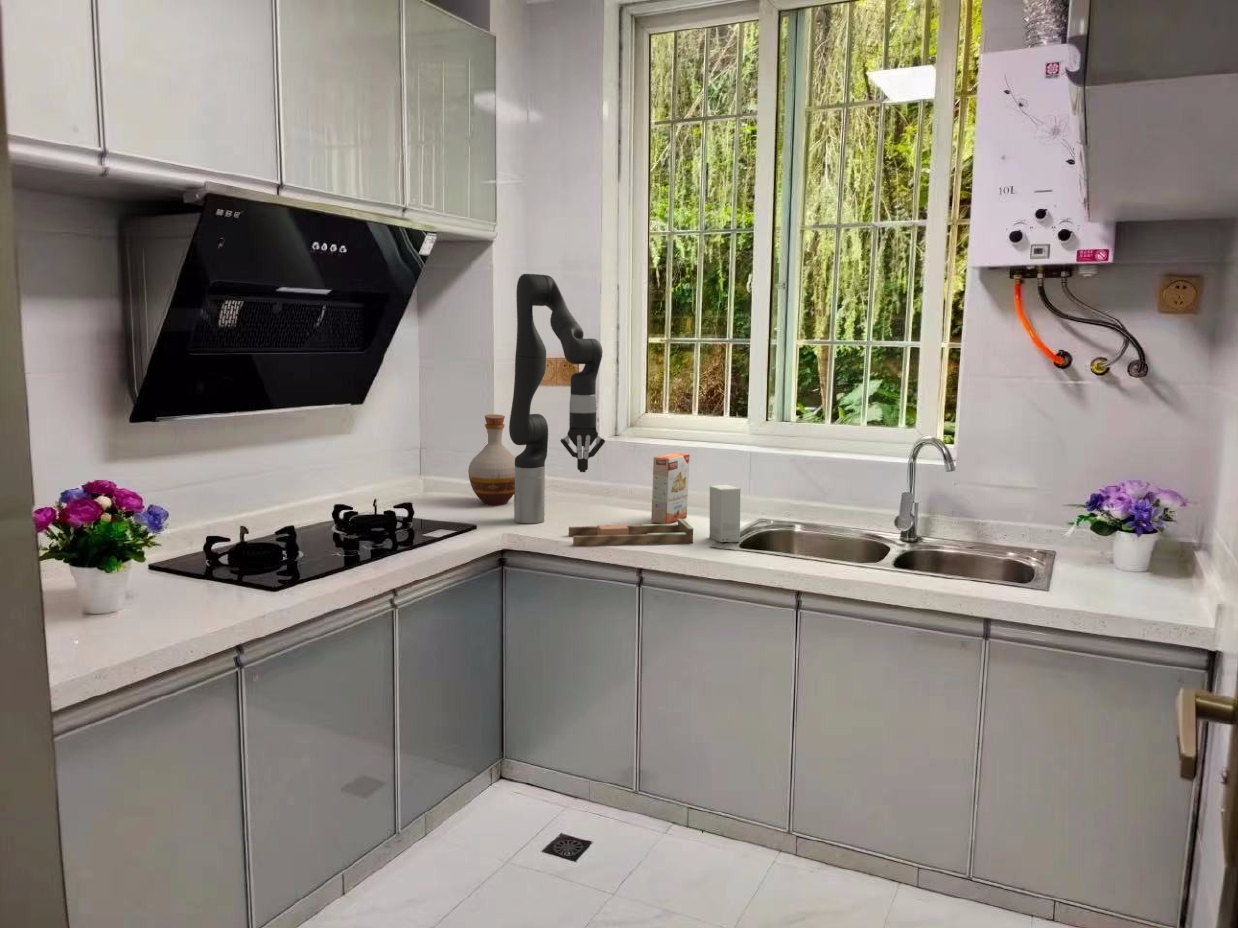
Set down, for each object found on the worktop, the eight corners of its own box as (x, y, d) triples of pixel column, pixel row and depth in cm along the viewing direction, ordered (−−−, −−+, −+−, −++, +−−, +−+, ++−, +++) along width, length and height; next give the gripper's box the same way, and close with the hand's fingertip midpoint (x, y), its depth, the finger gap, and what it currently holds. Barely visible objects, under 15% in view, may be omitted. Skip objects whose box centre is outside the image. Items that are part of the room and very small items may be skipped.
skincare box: (740, 542, 265) (742, 488, 263) (719, 543, 263) (720, 489, 261) (728, 535, 273) (729, 483, 271) (707, 537, 271) (709, 484, 269)
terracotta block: (601, 542, 263) (601, 529, 262) (597, 538, 267) (597, 525, 267) (628, 541, 265) (628, 528, 264) (624, 537, 269) (624, 524, 269)
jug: (461, 499, 321) (460, 413, 317) (510, 495, 329) (510, 411, 324) (477, 509, 304) (476, 418, 299) (528, 506, 311) (528, 417, 307)
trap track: (573, 545, 258) (573, 530, 257) (568, 535, 270) (568, 520, 270) (693, 543, 263) (693, 528, 263) (682, 532, 276) (682, 518, 275)
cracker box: (667, 525, 286) (669, 458, 282) (650, 523, 289) (652, 456, 285) (688, 517, 297) (690, 453, 294) (671, 515, 300) (673, 451, 297)
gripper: (604, 409, 264) (603, 469, 266) (558, 409, 262) (557, 470, 264) (608, 411, 256) (607, 473, 259) (560, 411, 254) (560, 474, 257)
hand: (582, 471), depth 262 cm, fingers closed
